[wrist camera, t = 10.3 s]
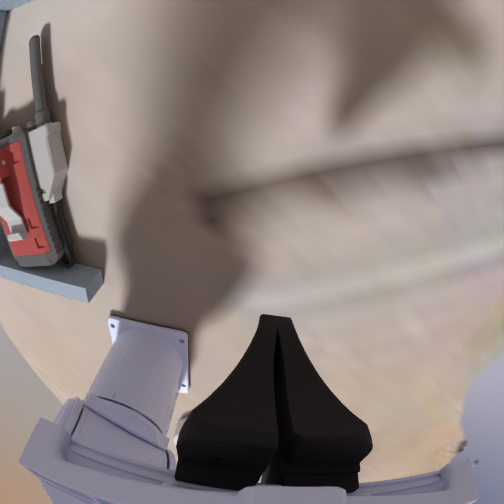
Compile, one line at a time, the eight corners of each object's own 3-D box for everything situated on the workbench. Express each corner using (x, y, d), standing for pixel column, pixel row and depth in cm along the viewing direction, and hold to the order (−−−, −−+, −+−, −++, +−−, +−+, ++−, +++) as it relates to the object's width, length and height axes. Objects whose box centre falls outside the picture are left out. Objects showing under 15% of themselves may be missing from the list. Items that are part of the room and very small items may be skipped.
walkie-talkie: (99, 257, 24) (54, 31, 15) (74, 285, 20) (18, 27, 11) (35, 262, 25) (-9, 72, 16) (10, 286, 21) (-43, 77, 12)
